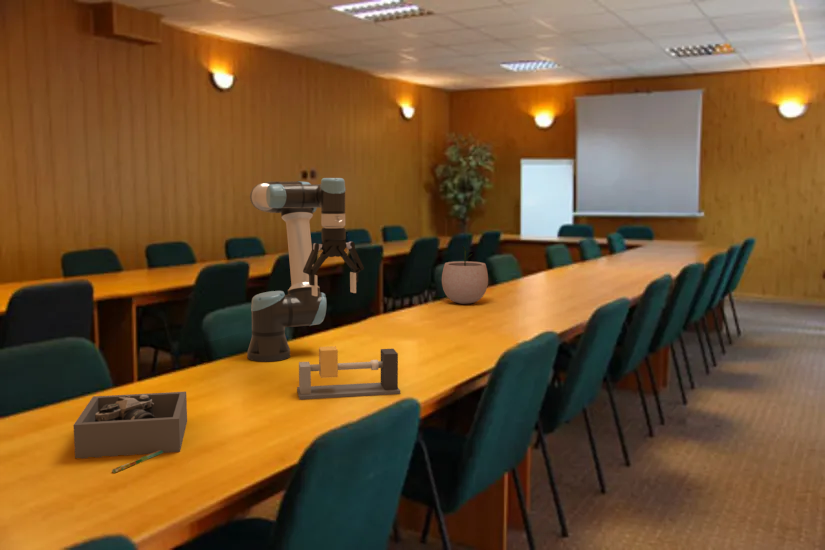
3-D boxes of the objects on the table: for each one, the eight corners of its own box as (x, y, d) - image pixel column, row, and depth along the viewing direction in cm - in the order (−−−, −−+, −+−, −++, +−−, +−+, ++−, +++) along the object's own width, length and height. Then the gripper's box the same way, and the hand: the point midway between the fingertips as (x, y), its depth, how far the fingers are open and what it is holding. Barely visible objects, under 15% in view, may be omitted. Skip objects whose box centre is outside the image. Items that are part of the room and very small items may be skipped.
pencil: (172, 448, 180) (111, 473, 164) (172, 443, 180) (111, 469, 164) (176, 449, 179) (115, 475, 163) (176, 444, 179) (115, 470, 163)
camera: (118, 451, 177) (116, 410, 175) (91, 443, 182) (89, 403, 181) (172, 432, 190) (171, 394, 189) (146, 425, 195) (144, 388, 194)
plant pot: (473, 308, 373) (474, 248, 369) (432, 304, 386) (433, 246, 382) (495, 302, 393) (496, 245, 389) (455, 298, 406) (456, 242, 402)
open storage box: (75, 458, 172) (73, 425, 171) (94, 426, 194) (93, 396, 193) (180, 451, 177) (178, 418, 176) (187, 420, 199) (186, 391, 198)
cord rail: (299, 399, 219) (299, 359, 217) (297, 390, 228) (296, 351, 227) (400, 393, 225) (400, 354, 224) (393, 384, 235) (394, 347, 233)
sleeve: (320, 377, 222) (320, 350, 221) (319, 373, 227) (318, 347, 225) (337, 377, 223) (337, 350, 222) (335, 372, 228) (335, 346, 227)
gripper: (301, 228, 226) (302, 298, 229) (374, 226, 239) (374, 292, 242) (291, 227, 233) (293, 295, 235) (362, 225, 246) (363, 289, 248)
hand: (334, 294), depth 238 cm, fingers open, 13 cm apart
